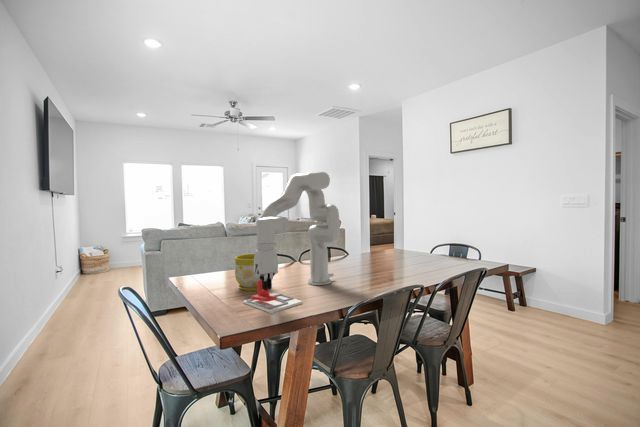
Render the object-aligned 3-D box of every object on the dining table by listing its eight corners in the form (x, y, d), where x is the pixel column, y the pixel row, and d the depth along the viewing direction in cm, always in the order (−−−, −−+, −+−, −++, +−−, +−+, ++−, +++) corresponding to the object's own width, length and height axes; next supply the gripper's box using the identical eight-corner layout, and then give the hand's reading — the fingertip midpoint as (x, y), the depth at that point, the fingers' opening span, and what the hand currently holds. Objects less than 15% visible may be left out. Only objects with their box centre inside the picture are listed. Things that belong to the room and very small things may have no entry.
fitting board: (274, 294, 159) (273, 291, 159) (302, 303, 145) (302, 299, 145) (243, 303, 147) (243, 299, 147) (271, 313, 133) (270, 309, 133)
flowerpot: (262, 281, 186) (261, 252, 185) (276, 288, 171) (275, 256, 170) (230, 286, 176) (229, 255, 175) (242, 294, 161) (241, 260, 160)
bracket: (251, 298, 146) (249, 280, 146) (259, 296, 149) (258, 278, 149) (267, 301, 137) (266, 282, 137) (276, 299, 140) (275, 280, 141)
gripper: (274, 244, 151) (275, 284, 152) (245, 248, 140) (246, 291, 141) (285, 245, 146) (286, 287, 147) (255, 249, 135) (257, 294, 136)
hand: (267, 288), depth 144 cm, fingers closed on bracket, 1 cm apart
